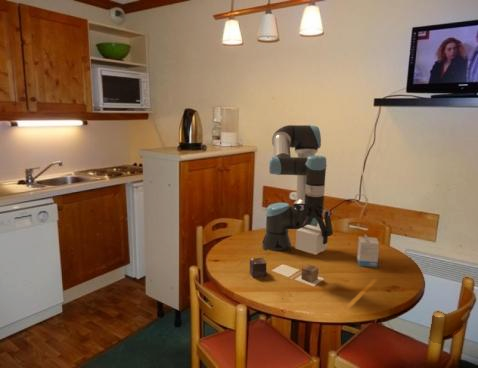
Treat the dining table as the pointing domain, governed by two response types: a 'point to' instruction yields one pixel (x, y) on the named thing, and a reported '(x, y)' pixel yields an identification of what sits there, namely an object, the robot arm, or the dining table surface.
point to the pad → (285, 270)
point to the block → (309, 273)
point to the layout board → (307, 281)
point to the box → (257, 267)
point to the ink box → (367, 251)
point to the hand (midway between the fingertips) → (311, 247)
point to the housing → (309, 239)
